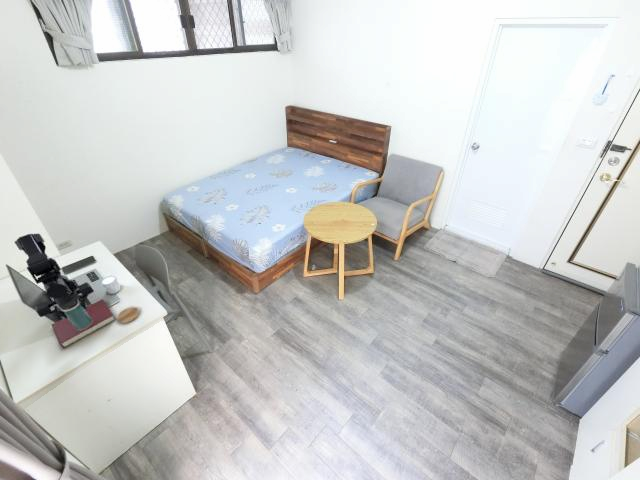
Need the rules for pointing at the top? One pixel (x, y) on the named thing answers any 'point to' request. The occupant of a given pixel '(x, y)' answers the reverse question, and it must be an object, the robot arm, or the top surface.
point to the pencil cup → (78, 316)
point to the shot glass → (111, 284)
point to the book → (70, 334)
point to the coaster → (128, 315)
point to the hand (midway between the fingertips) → (75, 313)
